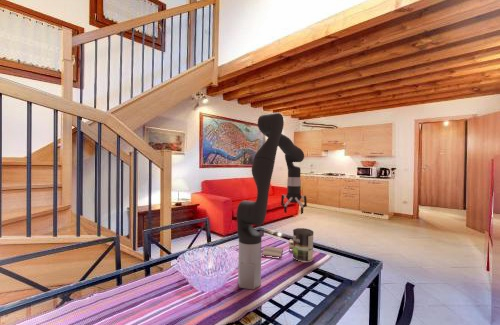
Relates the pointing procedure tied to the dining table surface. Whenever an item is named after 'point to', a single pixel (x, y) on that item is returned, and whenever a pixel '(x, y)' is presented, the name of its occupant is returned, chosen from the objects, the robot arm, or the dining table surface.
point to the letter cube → (291, 244)
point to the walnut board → (272, 252)
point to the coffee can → (303, 244)
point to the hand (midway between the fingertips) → (293, 213)
